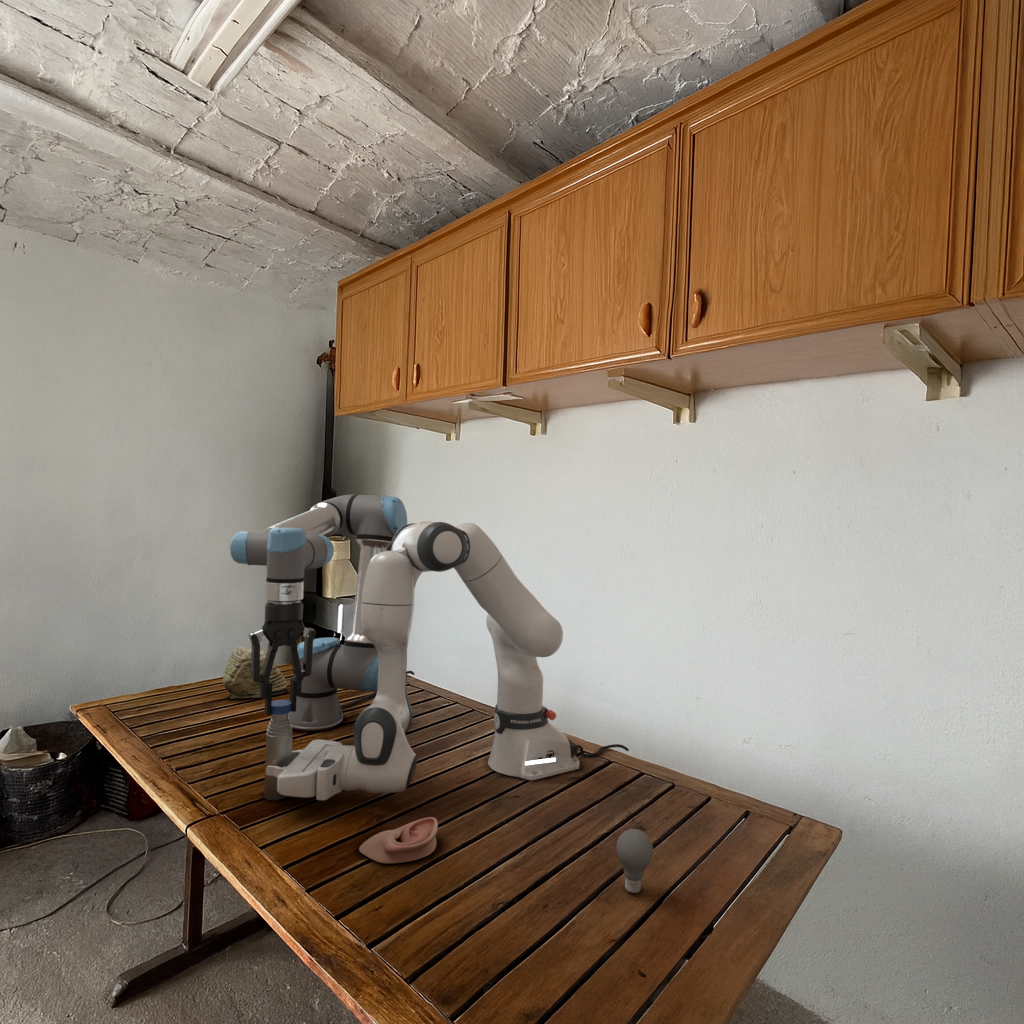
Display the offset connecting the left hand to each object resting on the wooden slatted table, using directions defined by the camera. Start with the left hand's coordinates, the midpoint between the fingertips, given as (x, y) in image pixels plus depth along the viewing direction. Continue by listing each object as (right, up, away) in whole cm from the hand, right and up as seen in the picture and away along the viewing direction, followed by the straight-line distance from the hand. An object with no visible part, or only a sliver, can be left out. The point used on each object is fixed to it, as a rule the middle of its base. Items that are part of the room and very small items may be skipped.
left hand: (280, 711), depth 134 cm
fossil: (-32, -15, +65) cm, 73 cm away
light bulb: (+69, -21, -28) cm, 77 cm away
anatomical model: (+28, -19, -18) cm, 39 cm away
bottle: (-1, -18, 0) cm, 18 cm away
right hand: (-1, -11, 0) cm, 11 cm away
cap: (0, +1, 0) cm, 1 cm away
